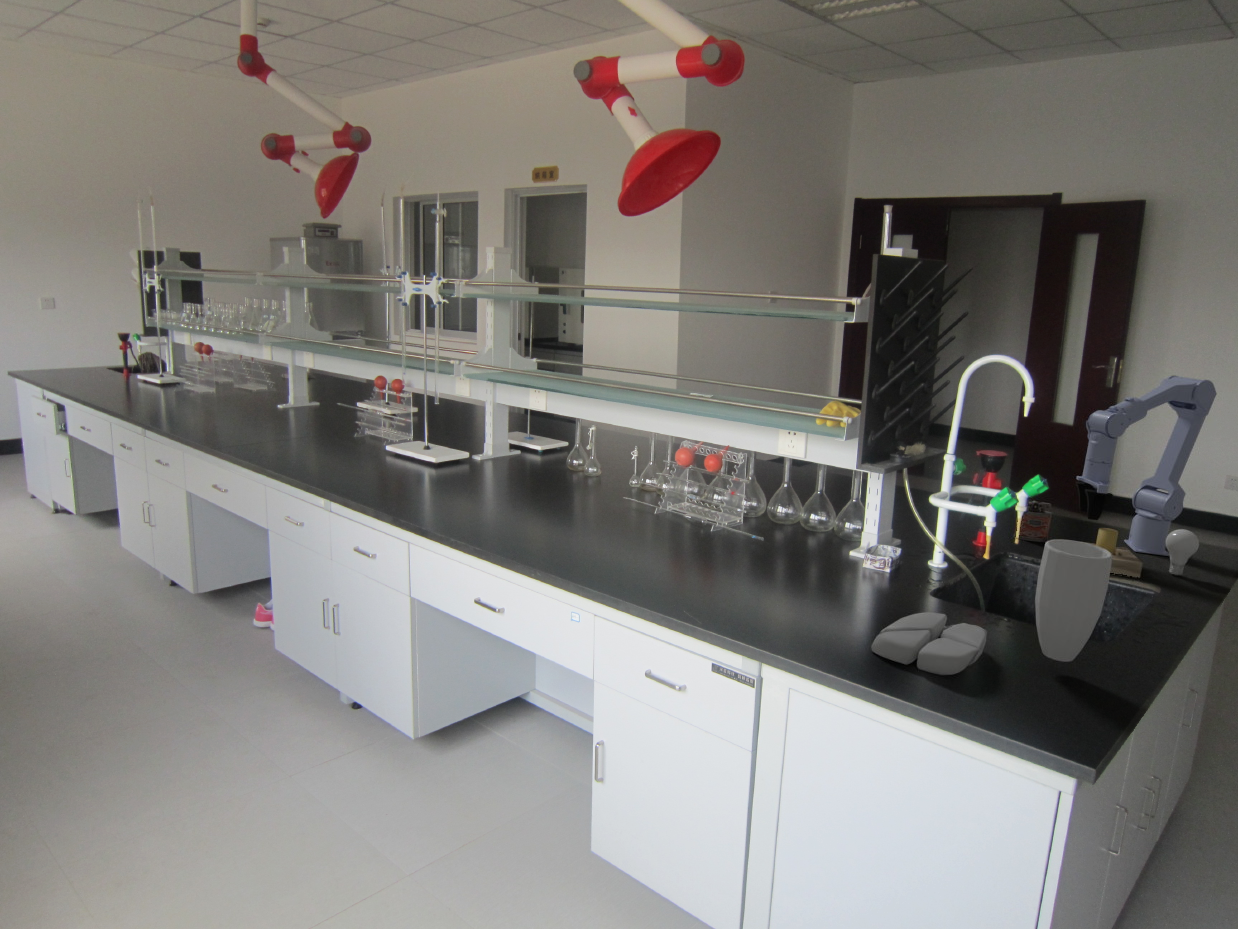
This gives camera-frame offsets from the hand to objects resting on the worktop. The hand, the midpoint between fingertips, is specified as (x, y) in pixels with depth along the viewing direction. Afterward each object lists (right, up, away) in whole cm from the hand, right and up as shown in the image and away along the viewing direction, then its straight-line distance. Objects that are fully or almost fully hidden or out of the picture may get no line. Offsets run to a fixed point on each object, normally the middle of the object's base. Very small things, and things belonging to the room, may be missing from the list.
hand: (1088, 515), depth 201 cm
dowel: (0, -11, -5) cm, 12 cm away
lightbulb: (+14, -13, -10) cm, 22 cm away
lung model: (-59, -20, -57) cm, 84 cm away
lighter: (-8, -7, +12) cm, 16 cm away
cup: (-42, -22, -64) cm, 79 cm away
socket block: (0, -12, -6) cm, 13 cm away
